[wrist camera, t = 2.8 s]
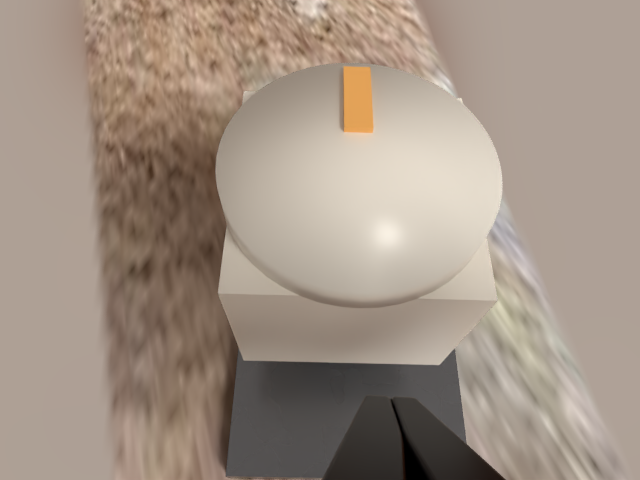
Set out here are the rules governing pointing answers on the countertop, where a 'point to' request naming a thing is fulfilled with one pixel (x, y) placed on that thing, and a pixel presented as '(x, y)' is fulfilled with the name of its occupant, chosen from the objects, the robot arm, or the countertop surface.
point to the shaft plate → (321, 410)
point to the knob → (355, 218)
